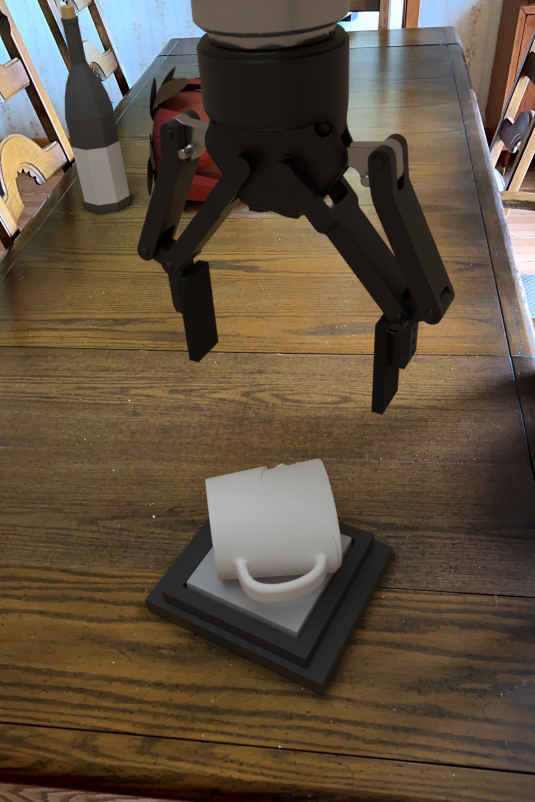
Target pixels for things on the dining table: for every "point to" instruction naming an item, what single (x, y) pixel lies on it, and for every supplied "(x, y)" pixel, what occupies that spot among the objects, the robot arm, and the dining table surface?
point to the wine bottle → (92, 128)
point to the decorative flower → (171, 103)
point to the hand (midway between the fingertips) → (289, 375)
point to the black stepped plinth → (263, 644)
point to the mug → (275, 528)
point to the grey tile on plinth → (277, 616)
